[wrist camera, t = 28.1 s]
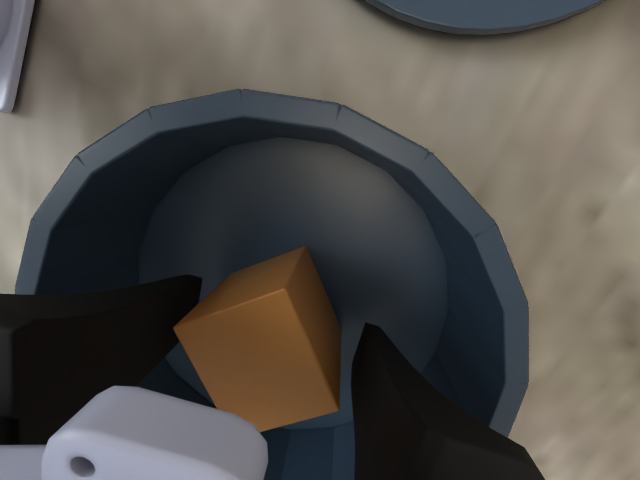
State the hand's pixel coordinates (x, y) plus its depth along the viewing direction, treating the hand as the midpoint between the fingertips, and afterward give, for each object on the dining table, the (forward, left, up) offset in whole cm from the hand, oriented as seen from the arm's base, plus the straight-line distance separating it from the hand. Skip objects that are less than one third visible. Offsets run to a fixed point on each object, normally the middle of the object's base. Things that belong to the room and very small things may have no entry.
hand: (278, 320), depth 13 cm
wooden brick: (0, 0, -2) cm, 2 cm away
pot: (0, 0, -2) cm, 2 cm away
